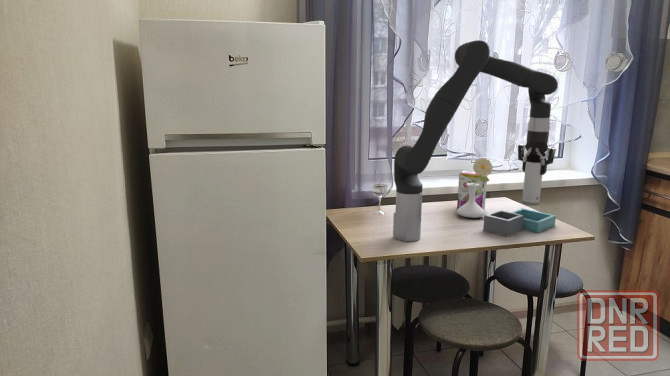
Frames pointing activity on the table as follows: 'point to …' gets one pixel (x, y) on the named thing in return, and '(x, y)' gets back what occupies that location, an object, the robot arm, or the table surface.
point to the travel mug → (532, 181)
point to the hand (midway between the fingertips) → (533, 173)
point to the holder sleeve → (503, 222)
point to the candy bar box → (464, 190)
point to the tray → (536, 220)
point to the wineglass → (379, 193)
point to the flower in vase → (471, 207)
